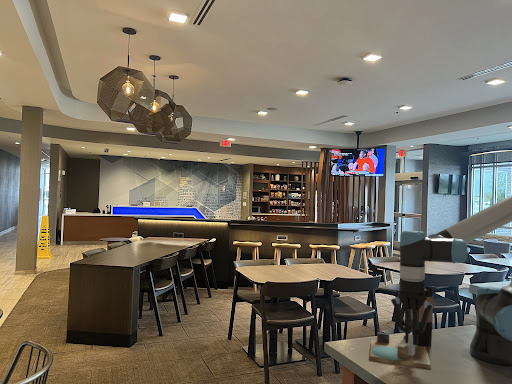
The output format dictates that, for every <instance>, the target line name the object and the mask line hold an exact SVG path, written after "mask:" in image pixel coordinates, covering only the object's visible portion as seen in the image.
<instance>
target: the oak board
mask: <svg viewBox="0 0 512 384" xmlns="http://www.w3.org/2000/svg"><path fill="white" fill-rule="evenodd" d="M411 330H412V331H413V327H411ZM412 331H411V332H412ZM376 335H377V337H376V338H377V339H376V340H375V339H371V340H370V341H371V342H370V352H369V360H370V361H375V362H381V361H382V363H388V362H389V364H394V363H396V364H397V365H402V366H403V365H404V366H409V367H415V368H422V369H423V368H424V369H429V370H430V369H431V367H432V364H431V361H430V357H429V355H428V350H427V347H423V346H417V345H415V354H414V355H413V356H409V358H408V359H403V360H387V359H383V358H381V357H378V356H376V355H375V354H373V353H372V349H374V348H376V347H391V348H396V349H398V345H399V344H400V343H401V342H400V343H398V342H397V343H396V342H392V341H391V342H390V333H387V332H377V334H376Z"/></svg>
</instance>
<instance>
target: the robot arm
mask: <svg viewBox="0 0 512 384" xmlns="http://www.w3.org/2000/svg"><path fill="white" fill-rule="evenodd" d="M511 222H512V194H511V195H509V196H507V197H505V198H503V199H501V200H499V201H497V202H496V203H494V204H492V205H489V206H487V207H485V208H484V209H482V210H480V211H477V212H476V213H474V214H472V215H470V216H468V217H466V218H465V219H463V220H460V221H459V222H456V223H454V224H453V225H451V226H449V227H447V228H445V229H443V230H441V231H439V232H437V233H432V234H429V235H427V236H426V234H425V232H424V231H419V230H403V231H401V233H400V238H399V239H400V240H399V278H400V279H399V293H398V295H397V296H396V297H394V298H392V299H391V300H390V301H391V302H390V303H392V305H393V307H394V312H395V314H396V320H397V325H398V328H399V330H400V331H402V332H404V333H405V334H404V336H405V342H406V343H408V355H410V356H413V355H414V354H415V346H417V344H418V334H422V333H424V332H425V328H426V325H427V321H428V318H429V314H430V311H431V310H432V308H433V309H434V307H435V305H434V303H433V304H430V303H429V302H428V301H427V300H426V297H425V287H426V285H425V284H426V282H425V279H426V278H425V277H426V273H425V272H426V262H432V263H433V262H435V263H436V262H437V263H450V264H451V263H452V264H463V263H465V262H466V261H467V259H468V258H467V257H468V245H467V244H469V243H471V242H473V241H475V240H477V239H480V238H481V237H483V236H485V235H488V234H489V233H491V232H494V231H495V230H497V229H500V228H502V227H503V226H506V225H508V224H509V223H511ZM475 298H476V312H475V314H476V316H475V317H476V319H475V320H476V321H475V322H476V323H475V325H476V326H475V327H476V328H475V332H474V334H473V338H472V339H471V343H470V344H469V353H470V354H471V356H473V357H474V358H476V359H479V360H482V361H484V362H487V363H492V364H496V365H499V366H500V365H501V366H512V279H511V280H510V283H509V284H508V285H505V286H501V287H493V286H480V287H478V288H477V289H476V295H475ZM401 304H402V305H403V307H404V308H403V310H404V314H403V310H402V306H401ZM423 304H425V306H424V308H425V310H424V313H423V317H422V320H421V324H420V327H419V311H420V308H421V306H422V305H423ZM411 310H412V313H413V331H412V330H411ZM403 315H404V316H403ZM411 331H412V332H411Z"/></svg>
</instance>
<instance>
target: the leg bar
mask: <svg viewBox="0 0 512 384" xmlns="http://www.w3.org/2000/svg"><path fill="white" fill-rule="evenodd" d="M409 356H410V355H408V343H406V342H405V335H404V336H403V339H402V340H401V341H400V344H399V345H398V353H397V357H399V358H403V359H408V358H409Z"/></svg>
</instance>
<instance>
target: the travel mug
mask: <svg viewBox="0 0 512 384" xmlns="http://www.w3.org/2000/svg"><path fill="white" fill-rule="evenodd" d="M425 297H426V300H427V301H428V302H429V303H430V304H433V305H434V303H433V302H434V290H433V288H432V287H429V286H425ZM424 306H425V304H423V305H422V306H421V308H420V311H419V327H420V324H421V320H422V317H423V313H424V310H425V308H424ZM433 309H434V307H433V308H432V310H431V311H430V314H429V318H428V321H427V325H426V328H425V332H424V333H422V334H418V344H417V345H416V346H423V347H426V348H427V347H431V346H432V339H433V338H432V337H433V316H434V315H433V314H434V312H433V311H434V310H433ZM411 327H413V313H412V310H411Z"/></svg>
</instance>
